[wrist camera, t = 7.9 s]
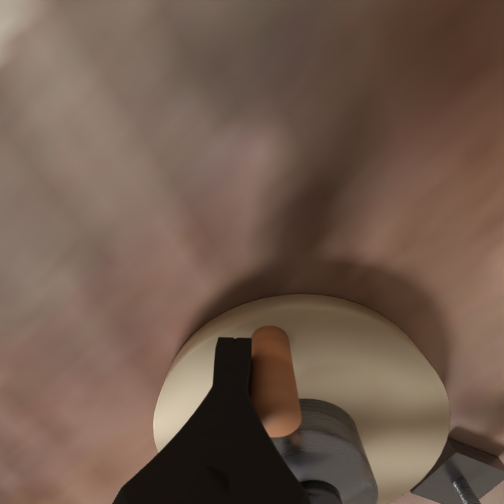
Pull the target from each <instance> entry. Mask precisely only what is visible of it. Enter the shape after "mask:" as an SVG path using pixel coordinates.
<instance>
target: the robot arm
mask: <svg viewBox="0 0 504 504" xmlns="http://www.w3.org/2000/svg"><path fill="white" fill-rule="evenodd" d="M251 357H252V338H236V339H234V338H233V337H218V340H217V344H216V348H215V358H214V371H213V385H212V387H211V389H210V391H209V392H208V394H207V395H206V397H205V398H204V400H203V401H202V402H201V404H200V405H199V407H198V408H197V409H196V411H195V412H194V413H193V415H192V416H191V417H190V418H189V419H188V421H187V422H186V423H185V424H184V426H183V427H182V428H181V429H180V430H179V432H178V433H177V434H176V435H175V436H174V437H173V438H172V439H171V440H170V441H169V442H168V444H167V445H166V446H165V447H164V448H163V449H162V450H161V451H160V452H159V453H158V454H157V455H156V456H155V457H154V458H153V459H152V460H151V461H150V462H149V463H148V464H147V465H146V466H145V467H144V468H142V469H141V470H140V471H139V472H138V473H137V474H136V475H135V476H134V477H133V478H132V479H130V480H129V481H128V482H127V483H126V484H125V485H124V486H123V487H122V488H121V489H120V491H119V493H118V495H117V496H116V498H115V500H114V502H113V503H112V504H311V502H310V499H309V497H308V494H307V492H306V490H305V489H304V488H303V486H302V485H301V483H300V482H299V481H298V479H297V478H296V477H295V475H294V474H293V472H292V471H291V470H290V468H289V467H288V465H287V464H286V462H285V461H284V459H283V458H282V456H281V455H280V453H279V452H278V450H277V448H276V447H275V445H274V443H273V441H272V440H271V438H270V436H269V435H268V433H267V431H266V429H265V428H264V426H263V424H262V422H261V420H260V418H259V416H258V414H257V412H256V410H255V407H254V405H253V403H252V401H251V398H250V396H249V389H250V380H251Z"/></svg>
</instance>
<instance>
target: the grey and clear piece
mask: <svg viewBox="0 0 504 504" xmlns="http://www.w3.org/2000/svg"><path fill="white" fill-rule="evenodd" d="M503 480H504V464H503V463H502V462H501V460H500V459H499V458H498V457H495V456H493V455H490V454H488V453H485V452H483V451H480V450H478V449H475V448H473V447H470V446H468V445H465V444H463V443H461V442H458V441H456V440H453V439H451V438H448V437H447V441H446V443H445V446H444V448H443V450H442V453H441V455H440V456H439V458H438V460H437V461H436V463H435V464H434V466H433V467H432V469H431V470H430V471H429V472H428V473H427V474H426V476H425V477H424V478H423V479H422V480H421V481H420V482H419V483H418V484H416V485H415V486H414V487H413V488H412V489H411V490H410V491H411V493H413V494H416V495H419V496H421V497H424V498H427V499H430V500H433V501H435V502H438V503H441V504H481V503H480V501H479V499H480V498H482V497H483V496H484V495H485V494H487V493H488V492H489V491H490V490H492V489H493V488H494V487H495V486H497V485H498V484H499V483H500V482H502V481H503Z"/></svg>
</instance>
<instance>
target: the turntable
mask: <svg viewBox="0 0 504 504" xmlns="http://www.w3.org/2000/svg"><path fill="white" fill-rule="evenodd" d="M218 337H233V338H234V339H236V338H252V357H251V380H250V389H249V396H250V398H251V401H252V403H253V405H254V407H255V410H256V412H257V414H258V416H259V418H260V420H261V422H262V424H263V426H264V428H265V429H266V431H267V433H268V435H269V436H270V437H283V436H286V435H289V434H291V433H292V432H294V431H295V430H296V429H297V428H298V427H299V425H300V423H301V419H302V416H301V410H300V404H299V399H304V398H306V399H318V400H323V401H327V402H329V403H332V404H334V405H336V406H338V407H340V408H342V409H343V410H345V411H346V412H347V413H348V414H349V415H350V416H351V418H352V419H353V420H354V422H355V424H356V427H357V430H358V433H359V435H360V438H361V441H362V444H363V447H364V449H365V452H366V455H367V458H368V461H369V464H370V466H371V469H372V472H373V475H374V478H375V481H376V483H377V486H378V500H377V503H376V504H389V503H391V502H393V501H395V500H396V499H398V498H400V497H401V496H402V495H404V494H405V493H407V492H408V491H409V490H411V489H412V488H413V487H414V486H415V485H416V484H418V483H419V482H420V481H421V480H422V479H423V478H424V477H425V476H426V474H427V473H428V472H429V471H430V470H431V469H432V467H433V466H434V464H435V463H436V461H437V460H438V458H439V456H440V455H441V453H442V450H443V448H444V446H445V443H446V441H447V437H448V433H449V429H450V407H449V399H448V396H447V393H446V391H445V388H444V385H443V383H442V381H441V380H440V378H439V376H438V374H437V373H436V371H435V370H434V368H433V367H432V366H431V365H430V363H429V362H428V361H427V360H426V358H425V357H424V356H423V354H422V353H421V352H420V351H419V349H418V348H417V347H416V346H415V344H414V343H413V342H412V341H411V339H410V338H409V337H408V336H407V335H406V333H405V332H404V331H402V330H401V329H400V328H399V327H398V326H397V325H396V324H394V323H393V322H392V321H391V320H389V319H387V318H386V317H384V316H383V315H381V314H380V313H378V312H376V311H374V310H372V309H370V308H367V307H365V306H363V305H361V304H358V303H355V302H351V301H348V300H345V299H342V298H336V297H330V296H325V295H313V294H291V295H279V296H273V297H267V298H262V299H258V300H255V301H252V302H248V303H245V304H242V305H240V306H237V307H235V308H233V309H230V310H228V311H226V312H224V313H222V314H220V315H219V316H217V317H215V318H214V319H212V320H210V321H209V322H208V323H206V324H205V325H204V326H202V327H201V328H200V329H199V330H197V331H196V332H195V333H194V334H193V335H192V336H191V337H190V338H189V339H188V340H187V341H186V342H185V344H184V345H183V346H182V348H181V349H180V351H179V352H178V354H177V355H176V357H175V359H174V361H173V363H172V365H171V367H170V369H169V372H168V374H167V377H166V379H165V382H164V385H163V387H162V390H161V393H160V395H159V398H158V401H157V405H156V408H155V412H154V422H153V429H154V440H155V443H156V447H157V451H158V453H159V452H160V451H161V450H162V449H163V448H164V447H165V446H166V445H167V444H168V442H169V441H170V440H171V439H172V438H173V437H174V436H175V435H176V434H177V433H178V432H179V430H180V429H181V428H182V427H183V426H184V424H185V423H186V422H187V421H188V419H189V418H190V417H191V416H192V415H193V413H194V412H195V411H196V409H197V408H198V407H199V405H200V404H201V402H202V401H203V400H204V398H205V397H206V395H207V394H208V392H209V391H210V389H211V387H212V385H213V371H214V358H215V348H216V344H217V340H218Z"/></svg>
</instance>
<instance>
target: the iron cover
mask: <svg viewBox="0 0 504 504" xmlns="http://www.w3.org/2000/svg"><path fill="white" fill-rule="evenodd" d="M299 404H300V410H301V416H302V419H301V423H300V425H299V427H298V428H297V429H296V430H295V431H294V432H292V433H291V434H289V435H286V436H283V437H270V438H271V440H272V441H273V443H274V445H275V447H276V448H277V450H278V452H279V453H280V455H281V456H282V458H283V459H284V461H285V462H286V464H287V465H288V467H289V468H290V470H291V471H292V472H293V474H294V475H295V477H296V478H297V479H298V481H299V482H300V483H301V485H302V486H303V488H304V489H305V490H306V492H307V494H308V497H309V499H310V502H311V504H376V503H377V500H378V486H377V483H376V481H375V478H374V475H373V472H372V469H371V466H370V464H369V461H368V458H367V455H366V452H365V449H364V447H363V444H362V441H361V438H360V435H359V433H358V430H357V427H356V424H355V422H354V420H353V419H352V418H351V416H350V415H349V414H348V413H347V412H346V411H345V410H343V409H342V408H340V407H338V406H336V405H334V404H332V403H329V402H327V401H323V400H318V399H306V398H304V399H299Z"/></svg>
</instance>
